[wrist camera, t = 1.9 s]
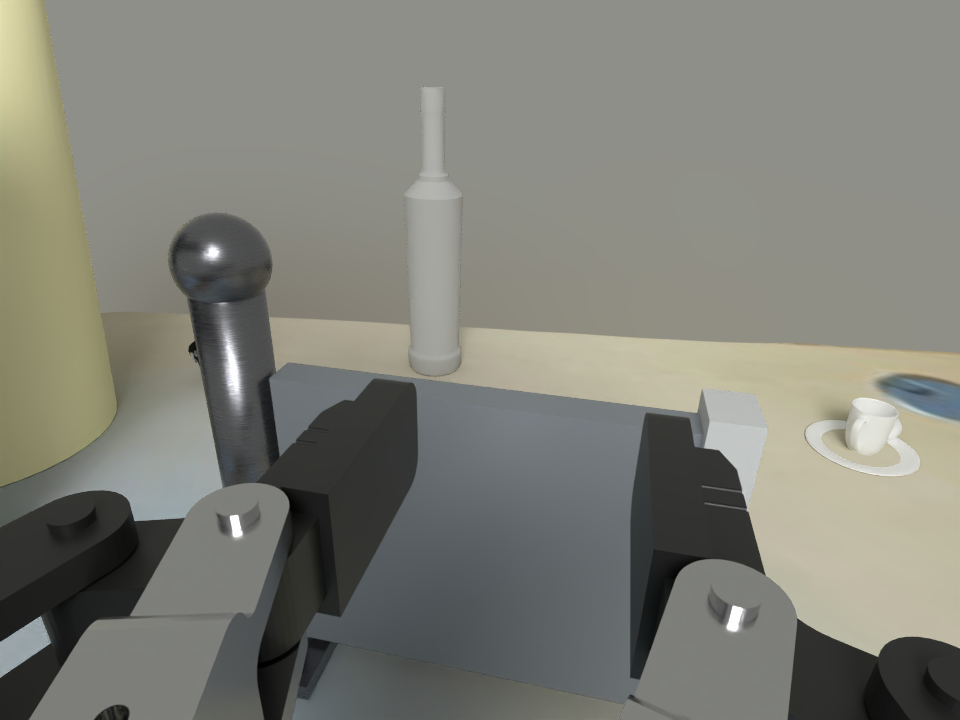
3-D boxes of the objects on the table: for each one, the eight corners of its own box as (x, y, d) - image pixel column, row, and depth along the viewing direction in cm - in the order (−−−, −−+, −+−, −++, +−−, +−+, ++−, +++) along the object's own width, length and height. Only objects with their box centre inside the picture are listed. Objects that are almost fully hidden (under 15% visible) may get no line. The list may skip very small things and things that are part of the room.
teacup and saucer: (864, 418, 54) (878, 377, 52) (951, 470, 47) (970, 424, 45) (781, 432, 51) (793, 389, 50) (860, 489, 44) (877, 440, 43)
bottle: (455, 379, 58) (458, 89, 47) (402, 374, 58) (392, 87, 48) (465, 356, 62) (469, 87, 52) (415, 352, 63) (409, 86, 52)
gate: (299, 643, 29) (260, 364, 23) (322, 605, 32) (291, 340, 25) (691, 728, 26) (768, 428, 20) (686, 679, 28) (754, 394, 22)
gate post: (191, 672, 29) (77, 225, 20) (259, 580, 35) (193, 194, 26) (307, 699, 28) (242, 239, 19) (359, 600, 33) (326, 203, 24)
